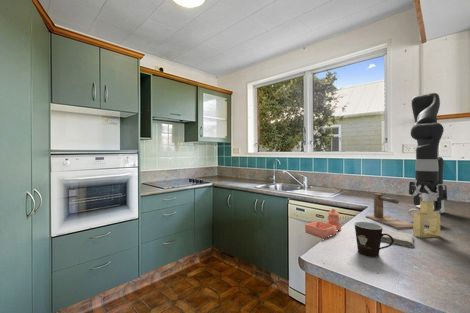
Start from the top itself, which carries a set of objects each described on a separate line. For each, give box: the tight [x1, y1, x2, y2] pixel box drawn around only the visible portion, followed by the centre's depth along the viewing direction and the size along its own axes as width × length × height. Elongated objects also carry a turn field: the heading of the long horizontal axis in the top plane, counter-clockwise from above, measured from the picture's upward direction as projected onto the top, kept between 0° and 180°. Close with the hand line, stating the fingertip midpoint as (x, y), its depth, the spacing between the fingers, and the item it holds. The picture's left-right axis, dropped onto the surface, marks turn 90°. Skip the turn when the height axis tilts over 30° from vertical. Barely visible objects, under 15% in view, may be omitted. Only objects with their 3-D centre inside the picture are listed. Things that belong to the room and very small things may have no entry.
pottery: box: [304, 208, 342, 240], centre depth 100 cm, size 18×10×10 cm, turn 124°
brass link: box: [412, 200, 441, 239], centre depth 94 cm, size 10×3×15 cm, turn 99°
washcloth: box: [381, 228, 415, 248], centre depth 93 cm, size 12×18×3 cm, turn 50°
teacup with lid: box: [408, 205, 440, 227], centre depth 111 cm, size 12×9×12 cm
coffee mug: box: [354, 221, 395, 258], centre depth 77 cm, size 12×9×10 cm
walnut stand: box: [365, 192, 413, 230], centre depth 113 cm, size 20×11×14 cm, turn 9°
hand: (426, 207), depth 94 cm, fingers open, 8 cm apart
